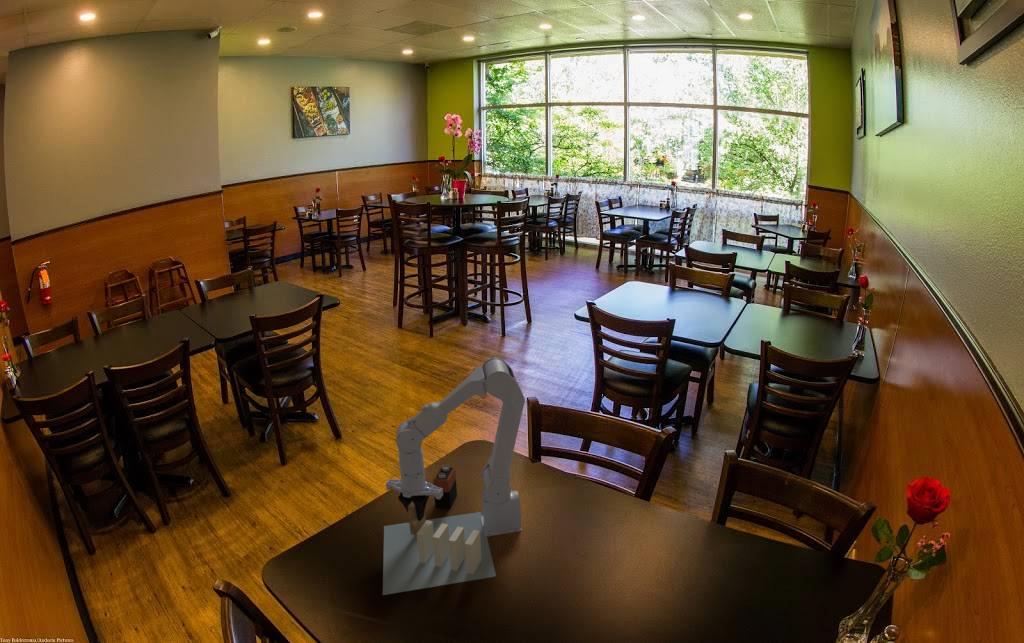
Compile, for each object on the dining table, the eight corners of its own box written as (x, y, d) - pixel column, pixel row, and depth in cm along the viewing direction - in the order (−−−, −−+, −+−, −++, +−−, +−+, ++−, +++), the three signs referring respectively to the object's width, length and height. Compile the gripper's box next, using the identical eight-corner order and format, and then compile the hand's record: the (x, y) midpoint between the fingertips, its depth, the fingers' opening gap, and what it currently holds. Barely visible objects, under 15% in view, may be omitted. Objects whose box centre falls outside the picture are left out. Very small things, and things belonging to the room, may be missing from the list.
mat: (481, 513, 154) (480, 511, 154) (496, 577, 132) (496, 576, 132) (384, 527, 150) (384, 526, 150) (382, 596, 127) (382, 595, 127)
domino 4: (466, 573, 133) (464, 543, 130) (475, 558, 137) (473, 529, 135) (473, 574, 132) (471, 545, 130) (481, 559, 137) (480, 530, 134)
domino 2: (435, 565, 135) (432, 536, 133) (444, 551, 140) (442, 523, 137) (441, 567, 135) (438, 538, 132) (450, 552, 139) (448, 524, 137)
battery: (457, 495, 162) (455, 464, 159) (450, 510, 156) (447, 478, 153) (442, 494, 163) (440, 462, 160) (434, 509, 157) (431, 476, 153)
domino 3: (450, 569, 134) (448, 540, 132) (459, 554, 139) (457, 526, 136) (457, 570, 134) (455, 541, 131) (465, 556, 138) (463, 527, 136)
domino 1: (419, 562, 137) (416, 533, 134) (429, 548, 141) (426, 520, 139) (425, 563, 136) (423, 534, 134) (435, 549, 141) (432, 521, 138)
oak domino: (410, 534, 144) (407, 506, 142) (420, 521, 149) (417, 494, 146) (416, 535, 144) (413, 507, 141) (425, 523, 148) (423, 495, 146)
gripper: (377, 474, 140) (383, 522, 144) (432, 483, 135) (436, 533, 139) (392, 458, 146) (397, 505, 150) (445, 467, 141) (448, 515, 145)
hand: (417, 517), depth 145 cm, fingers closed on oak domino, 1 cm apart
